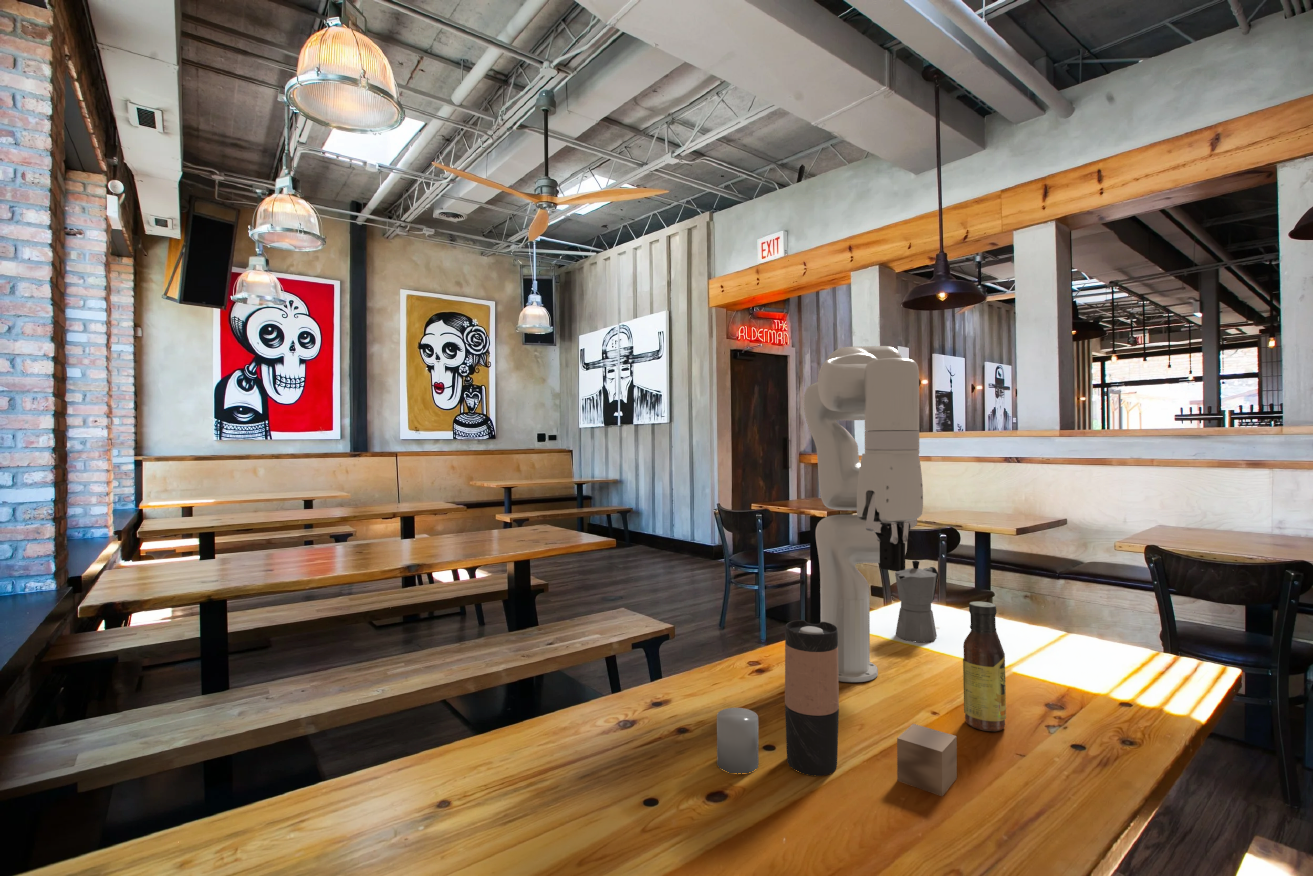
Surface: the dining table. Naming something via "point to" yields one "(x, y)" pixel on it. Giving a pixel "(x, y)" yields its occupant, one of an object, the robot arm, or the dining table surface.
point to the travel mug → (811, 697)
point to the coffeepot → (916, 603)
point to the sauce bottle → (984, 671)
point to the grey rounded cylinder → (737, 740)
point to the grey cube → (927, 759)
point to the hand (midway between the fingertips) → (892, 569)
